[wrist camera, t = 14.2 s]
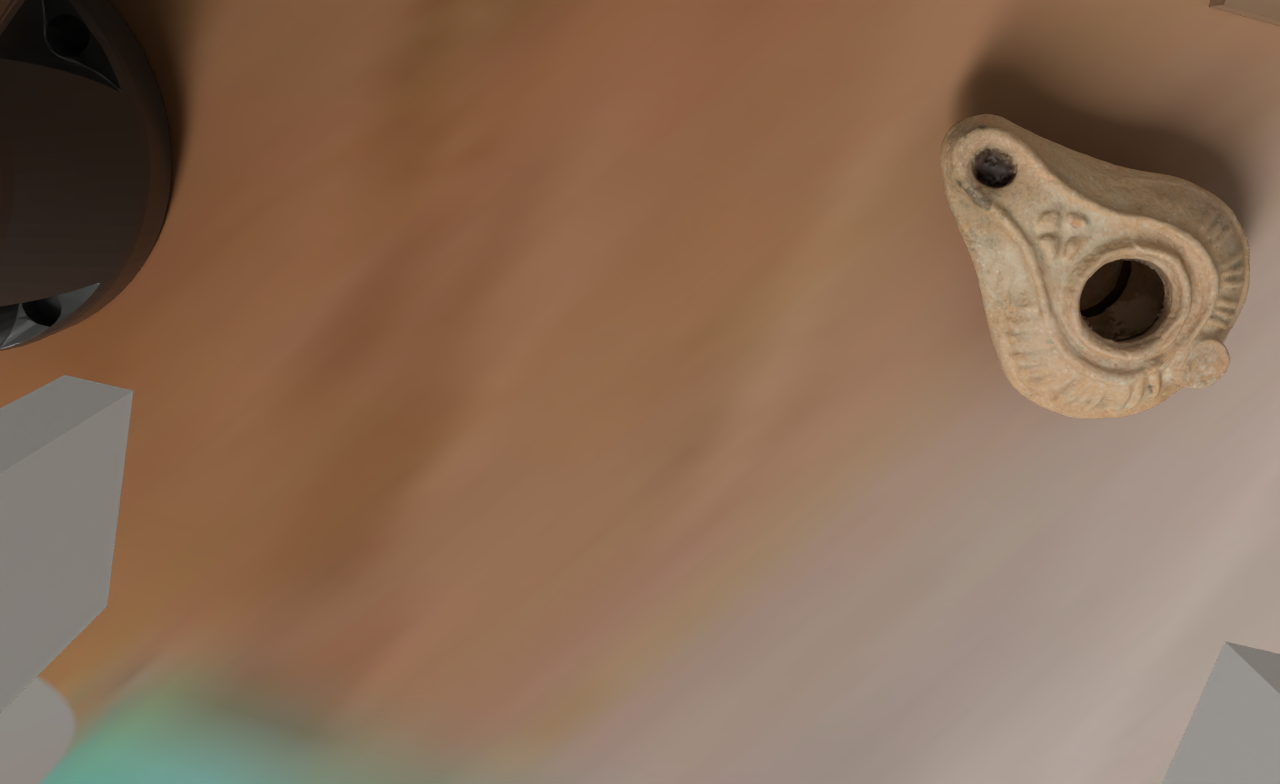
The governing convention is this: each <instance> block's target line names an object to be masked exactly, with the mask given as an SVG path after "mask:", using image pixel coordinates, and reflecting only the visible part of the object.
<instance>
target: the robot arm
mask: <svg viewBox="0 0 1280 784" xmlns="http://www.w3.org/2000/svg"><path fill="white" fill-rule="evenodd" d="M171 166H172V156H171V141H170V134H169V127H168V122H167V117H166V112H165V108H164V104H163V101H162V97H161V94H160V91H159V88H158V85H157V82H156V80H155V77H154V75H153V72H152V70H151V68H150V66H149V63H148V61H147V59H146V57H145V55H144V53H143V51H142V49H141V47H140V46H139V44H138V42H137V41H136V39H135V37H134V36H133V34H132V32H131V31H130V29H129V28H128V26H127V25H126V24H125V22H124V21H123V19H122V18H121V16H120V15H119V14H118V13H117V11H116V10H115V9H114V8H113V6H112V5H111V4H110V3H109V1H108V0H0V351H2V350H8V349H12V348H16V347H20V346H24V345H27V344H30V343H33V342H36V341H38V340H41V339H43V338H45V337H48V336H50V335H52V334H55V333H57V332H59V331H62V330H64V329H66V328H68V327H71V326H73V325H75V324H77V323H79V322H81V321H83V320H85V319H87V318H88V317H90V316H91V315H93V314H95V313H96V312H98V311H99V310H101V309H102V308H103V307H104V306H106V305H107V304H108V303H110V302H111V301H112V300H113V299H114V298H115V297H116V296H117V295H119V294H120V293H121V292H122V291H123V289H124V288H125V287H126V286H127V285H128V284H129V283H130V282H131V281H132V279H133V278H134V277H135V275H136V274H137V273H138V271H139V270H140V269H141V267H142V265H143V264H144V262H145V261H146V259H147V257H148V256H149V254H150V252H151V250H152V248H153V246H154V244H155V242H156V239H157V237H158V235H159V232H160V229H161V226H162V223H163V220H164V217H165V213H166V209H167V204H168V199H169V193H170V184H171ZM132 397H133V391H132V390H128V389H124V388H119V387H115V386H110V385H106V384H102V383H97V382H93V381H89V380H84V379H80V378H76V377H71V376H67V375H63V376H62V377H60V378H58V379H56V380H54V381H52V382H50V383H48V384H46V385H44V386H42V387H40V388H38V389H37V390H35V391H33V392H31V393H29V394H27V395H25V396H23V397H21V398H19V399H17V400H15V401H13V402H11V403H10V404H8V405H6V406H4V407H2V408H0V713H1V711H3V710H4V709H5V708H6V707H7V706H8V705H9V703H10V702H12V701H13V700H14V699H15V698H16V697H17V696H18V695H19V694H20V693H21V692H22V691H23V690H24V689H25V688H26V686H28V685H29V684H30V683H31V682H32V681H33V680H34V679H35V678H36V677H37V676H38V675H39V674H40V673H41V672H42V671H43V670H44V669H45V668H46V667H47V666H48V665H49V664H50V663H51V662H52V661H53V660H54V659H55V658H56V657H57V656H58V655H59V654H60V653H61V652H62V651H63V650H64V649H65V648H66V647H67V646H68V645H69V644H70V643H71V642H72V641H73V640H74V639H75V638H76V637H77V636H78V635H79V634H80V633H81V632H82V631H83V630H84V629H85V628H86V627H87V626H88V625H89V624H90V623H91V622H92V621H93V620H94V619H95V618H96V617H97V616H98V615H99V614H100V613H101V612H102V611H103V610H104V609H105V608H106V607H107V602H108V594H109V585H110V577H111V569H112V561H113V553H114V544H115V536H116V528H117V520H118V512H119V503H120V495H121V487H122V479H123V471H124V462H125V454H126V446H127V438H128V430H129V421H130V413H131V405H132ZM1162 784H1280V654H1277V653H1272V652H1268V651H1264V650H1259V649H1255V648H1251V647H1246V646H1242V645H1238V644H1233V643H1229V642H1225V643H1224V645H1223V647H1222V650H1221V652H1220V654H1219V656H1218V659H1217V661H1216V663H1215V665H1214V668H1213V670H1212V672H1211V674H1210V677H1209V679H1208V681H1207V683H1206V686H1205V688H1204V690H1203V692H1202V695H1201V697H1200V699H1199V701H1198V704H1197V706H1196V708H1195V711H1194V713H1193V715H1192V717H1191V720H1190V722H1189V724H1188V726H1187V729H1186V731H1185V733H1184V735H1183V738H1182V740H1181V742H1180V744H1179V747H1178V749H1177V751H1176V753H1175V756H1174V758H1173V760H1172V762H1171V765H1170V767H1169V769H1168V771H1167V774H1166V776H1165V778H1164V780H1163V783H1162Z"/></svg>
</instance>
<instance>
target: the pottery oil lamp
mask: <svg viewBox="0 0 1280 784" xmlns="http://www.w3.org/2000/svg"><path fill="white" fill-rule="evenodd" d="M940 163H941V169H942V185H943V188H944V191H945V194H946V198H947V200H948V204H949V206H950V208H951V210H952V213H953V215H954V218H955V221H956V224H957V226H958V229H959V231H960V233H961V235H962V237H963V239H964V242H965V244H966V246H967V248H968V250H969V253H970V256H971V258H972V261H973V264H974V266H975V270H976V274H977V276H978V280H979V285H980V290H981V294H982V299H983V305H984V310H985V312H986V318H987V322H988V327H989V331H990V335H991V338H992V342H993V346H994V349H995V353H996V356H997V360H998V362H999V364H1000V366H1001V368H1002V370H1003V372H1004V374H1005V376H1006V377H1007V379H1008V381H1009V383H1010V384H1011V385H1012V386H1013V387H1014V388H1015V389H1016V390H1017V391H1018V392H1020V393H1021V394H1022V395H1023V396H1025V397H1026V398H1027V399H1029V400H1031V401H1033V402H1034V403H1036V404H1038V405H1039V406H1041V407H1044V408H1045V409H1048V410H1050V411H1054V412H1057V413H1059V414H1062V415H1065V416H1069V417H1074V418H1086V419H1087V418H1095V419H1099V418H1105V417H1113V418H1118V417H1123V416H1127V415H1131V414H1135V413H1139V412H1142V411H1145V410H1147V409H1150V408H1153V407H1154V406H1157V405H1158V404H1160V403H1161V402H1163V401H1164V400H1166V399H1167V398H1168V397H1169V396H1170V395H1172V394H1174V393H1175V392H1176V391H1177V390H1179V389H1181V388H1182V387H1183V386H1184V387H1187V388H1197V389H1199V388H1204V387H1207V386H1210V385H1212V384H1213V383H1215V382H1216V381H1217V380H1219V379H1220V378H1221V376H1222V375H1223V374H1224V373H1225V372H1226V370H1227V368H1228V366H1229V363H1230V357H1229V353H1228V351H1227V349H1226V347H1225V345H1224V344H1223V343H1224V341H1225V339H1226V337H1227V335H1228V333H1229V332H1230V330H1231V328H1232V327H1233V325H1234V324H1235V322H1236V319H1237V318H1238V315H1239V314H1240V311H1241V309H1242V307H1243V305H1244V303H1245V301H1246V296H1247V293H1248V288H1249V274H1250V267H1249V266H1250V265H1249V253H1250V251H1249V250H1250V249H1249V245H1248V241H1247V239H1246V235H1245V232H1244V231H1243V228H1242V226H1241V224H1240V223H1239V221H1238V219H1237V218H1236V216H1235V214H1234V212H1233V211H1232V210H1231V209H1230V207H1229V206H1228V205H1227V204H1226V203H1225V202H1223V201H1222V200H1221V199H1219V198H1218V197H1217V196H1215V195H1214V194H1213V193H1211V192H1209V191H1207V190H1205V189H1203V188H1201V187H1200V186H1198V185H1196V184H1194V183H1192V182H1190V181H1187V180H1185V179H1182V178H1179V177H1175V176H1171V175H1165V174H1162V173H1161V174H1160V173H1152V172H1147V171H1140V170H1136V169H1131V168H1126V167H1122V166H1117V165H1114V164H1112V163H1108V162H1106V161H1103V160H1099V159H1097V158H1094V157H1091V156H1089V155H1086V154H1083V153H1079V152H1076V151H1074V150H1072V149H1069V148H1067V147H1064V146H1062V145H1060V144H1057V143H1055V142H1052V141H1050V140H1048V139H1045V138H1043V137H1040V136H1038V135H1036V134H1034V133H1032V132H1031V131H1029V130H1026V129H1024V128H1022V127H1020V126H1018V125H1016V124H1014V123H1012V122H1010V121H1009V120H1007V119H1005V118H1003V117H1000V116H997V115H993V114H981V115H977V116H972V117H968V118H966V119H964V120H962V121H961V122H958V123H957V124H955V125H954V126H953V127H952V128H951V129H950V130H949V131H948V133H947V134H946V136H945V137H944V140H943V143H942V145H941V152H940ZM1124 260H1127V261H1130V263H1131V273H1130V277H1129V279H1128V283H1127V285H1126V287H1125V289H1124V291H1123V293H1122V295H1121V296H1120V297H1119V298H1118V299H1117V301H1116V302H1115V303H1114V304H1112V305H1111V306H1110V307H1108V308H1106V310H1105V311H1104V312H1103V313H1101V314H1099V315H1096V316H1093V317H1089V318H1085V316H1084V317H1082V316H1083V315H1081V312H1080V310H1085V309H1087V308H1090V307H1092V306H1094V305H1096V304H1097V303H1099V302H1101V301H1102V300H1103V299H1105V298H1106V297H1107V296H1108V295H1109V294H1110V293H1111V291H1112V290H1113V289H1114V287H1115V286H1116V284H1117V281H1118V277H1119V275H1120V272H1121V270H1122V266H1123V262H1124Z"/></svg>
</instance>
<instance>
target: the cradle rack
mask: <svg viewBox="0 0 1280 784" xmlns="http://www.w3.org/2000/svg"><path fill="white" fill-rule="evenodd" d="M1209 7H1212V8H1216V9H1220V10H1223V11H1227V12H1231V13H1234V14H1238V15H1242V16H1245V17H1249V18H1253V19H1256V20H1260V21H1264V22H1267V23H1271V24H1275V25H1278V26H1280V0H1211V2H1210V5H1209Z"/></svg>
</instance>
